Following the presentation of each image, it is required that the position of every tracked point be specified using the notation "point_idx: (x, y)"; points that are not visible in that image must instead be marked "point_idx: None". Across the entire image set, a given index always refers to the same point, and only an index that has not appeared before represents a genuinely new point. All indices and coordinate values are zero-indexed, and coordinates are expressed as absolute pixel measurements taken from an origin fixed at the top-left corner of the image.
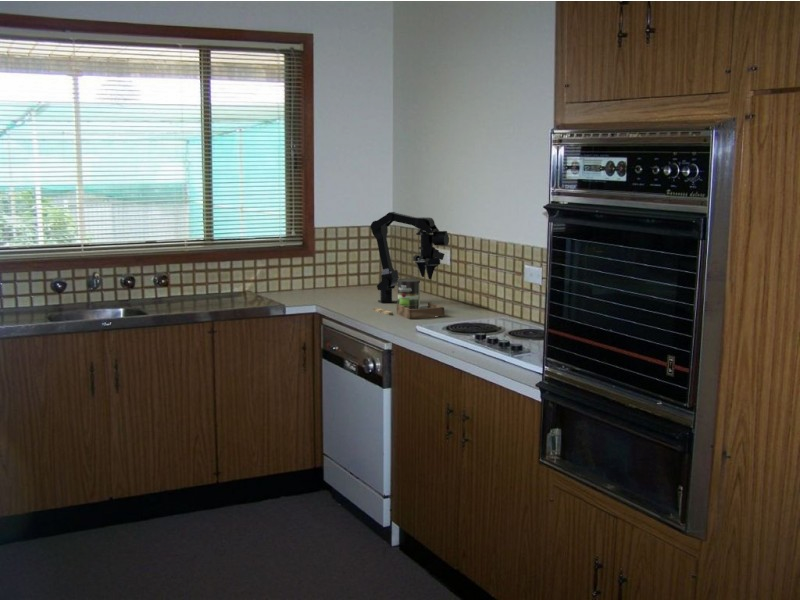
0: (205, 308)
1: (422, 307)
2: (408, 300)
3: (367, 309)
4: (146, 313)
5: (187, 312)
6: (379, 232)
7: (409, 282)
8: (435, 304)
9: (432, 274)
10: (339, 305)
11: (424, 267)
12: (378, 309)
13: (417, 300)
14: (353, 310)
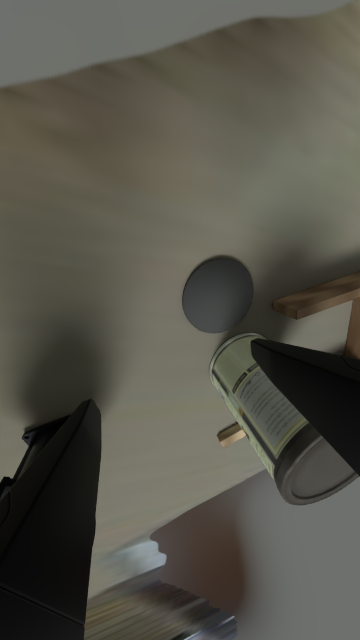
0: (145, 626)
1: (218, 323)
2: None
3: (199, 455)
4: (175, 636)
5: (176, 620)
6: None
7: None
8: (342, 295)
9: (306, 348)
10: (129, 516)
11: (30, 543)
12: (245, 434)
13: None
14: (206, 475)
